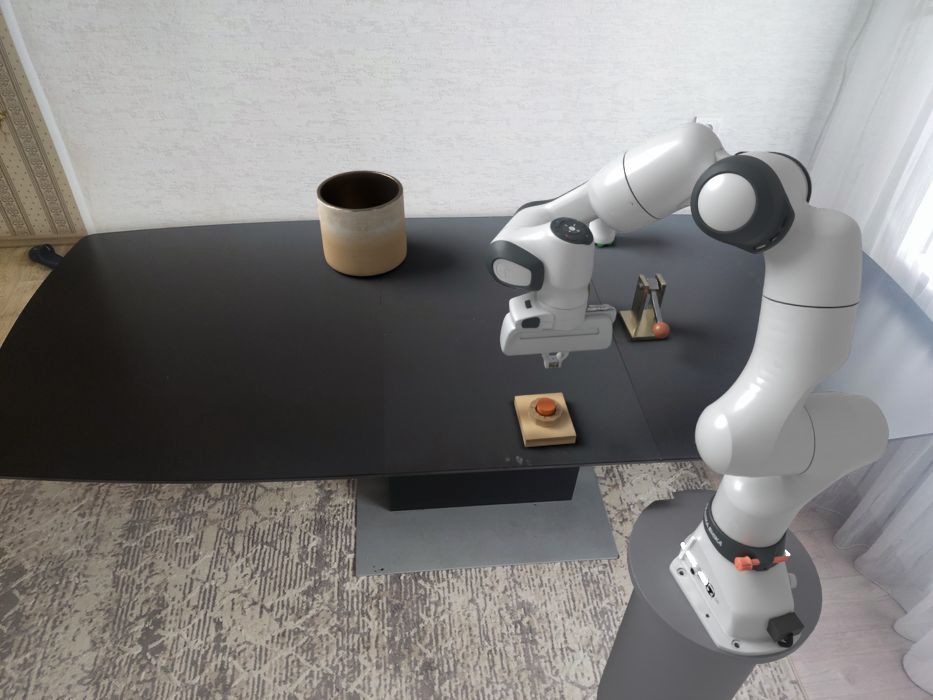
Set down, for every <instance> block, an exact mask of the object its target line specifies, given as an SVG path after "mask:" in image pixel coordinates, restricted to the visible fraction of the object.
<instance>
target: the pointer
mask: <svg viewBox="0 0 933 700" xmlns="http://www.w3.org/2000/svg"><path fill="white" fill-rule="evenodd" d="M646 280H647V282H648V284H649V290H648V294H647V295H649V298H650V297H651V301H652V306H653V310H654V315H655V319H656V324H655V325H654V327H653V333H654V335H655V336H656V337H658V338H664V339H665V338H667V337H668V336H669V334H670V331H671V329H670V326H669V324H667V323H666V322H664V321H663V317H662V312H661V308H659V304H658V299H657V295H656V292H657V290H658V289H659V287H658V283H657V279H656V278H655V277H649V278H646Z"/></svg>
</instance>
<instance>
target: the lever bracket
mask: <svg viewBox="0 0 933 700" xmlns="http://www.w3.org/2000/svg"><path fill="white" fill-rule="evenodd" d="M654 278H656V279H657V283H658V287H659V289H658V290H657V292H656V295H657V299H658V304H659V308H660V309H661V306H662V303H663V299H664V295H665V293H666V288H667V282H666V281H665V279H664V277H663V276H662V274H661V273H655V275H654ZM646 279H647V278H646V277H645V275H644V274H639V275H638V279H637V283H636V287H635V291H634V296H633V298H632V299H633V300H632V304H631V309H630V310H620V311H619V312H618V316H619V319H620V321H621V322H622V325H623V326H624V329H625V331H626V333H627V334H628V337H629V339H630V341H631V342H639V341H640V342H641V341H653V340H665V338H658V337H656V336H655V335H654V333H653V327H654V325H655V324H656V319H655V315H654V310H653V306H652V301H651V297H650V296H649V300H648V304H647V306H646V301H647V298H648V295H649V294H648V290H649V284H648V282H647V280H646ZM645 306H646V307H647V308H646V309H645Z"/></svg>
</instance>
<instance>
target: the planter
mask: <svg viewBox="0 0 933 700" xmlns="http://www.w3.org/2000/svg"><path fill="white" fill-rule="evenodd" d="M404 196H405V195H404V187H403V184H402V183H401V181H400V180H399V179H397V177H394V176H393V175H391V174H388V173H385V172H381V171H377V170H364V169H362V170H361V169H360V170H350V171H344V172H340V173H337V174H334V175H332V176H330V177H328V178H326V179H324V180H323V181H321V183H320V184H319V185H318V187H317V188H316V202H317V209H318V217H319V225H320V232H321V239H322V240H321V241H322V248H323V254H324V258H325V261H326V263H327V264H328V265H329V267H331V268H332V269H333V270H335V271H336V272H339V273H342V274H344V275H347V276H353V277H374V276H379V275H383V274H385V273H388V272H390V271H392V270H394V269H396V268H397V267H399V266H400V265H401V264H402V263H403V261H405V258H406V257H407V253H408V243H407V227H406V214H405V200H404V199H405V197H404Z"/></svg>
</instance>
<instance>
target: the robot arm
mask: <svg viewBox="0 0 933 700" xmlns="http://www.w3.org/2000/svg"><path fill="white" fill-rule="evenodd" d="M812 192H813V183H812V178H811V175H810V173H809V171H808V170H807V168H806V167H805V165H804V164H803V163H802V162H801V161H799V160H798V159H797V158H795V157H793V156H792V155H789V154H786V153H784V152H778V151H762V150H754V151H745V150H744V151H738V152H736V153H734V154H730V153H729V152H728V151H727V150H726V149H725V146H724V145H723V143H722V142H721V139H720V138H719V137H718V135H717V134H716V133H715V131H713V130H712V129H711V128H710V127H708V126H707V125H705V124H703V123H700V122H692V121H691V122H685V123H683V124H680V125H677V126H674V127H671V128H669V129H666V130H664V131H661V132H659V133H657V134H655V135H652V136H650V137H648V138H647V139H644V140H643V141H641V142H639V143H637V144H635V145H633V146H632V147H630V148H629V149H627V150H625V151H623V152H621V153H620V154H619V155H617V156H616V157H614V158H613V159H611V160H610V161H609V162H608V163H606V164H605V165H604V166H603V167H602V168H600V169H599V170H598V171H597V172H596V173H594V175H593V176H591V178H590V179H589V180H587V181H585V182H583V183H582V184H579V185H578V186H576V187H574V188H572V189H570V190H568V191H566V192H565V193H562V194H561V195H558V196H556V197H554V198H551V199H550V198H549V199H544V200H543V199H542V200H533V201H529V202H526V203H524V204H522V205H521V206H520V207H518V208H517V210H516V211H515V212H514V214H513V216H512V217H511V218H510V220H509V221H508V222H507V223H506V225H505V226H504V227H503V228H502V229H501V230H500V231H499V232H498V234H497V235H495V237H494V238H493V240H492V241H491V242H490V243H489V244H488V246H487V247H486V249H485V252H484V263H485V266H486V269H487V271H488V273H489V275H490V276H491V277H492V278H493V280H494V281H496V282H497V283H498V284H500V285H502V286H504V287H507V288H511V289H515V290H519V291H525V292H527V293H524V294H520V295H518V296H515V297H512V298H510V299H509V301H508V307H509V312H508V313H506V315H505V316H504V318H503V321H502V324H501V329H500V335H499V343H500V348H501V352H502V353H503V354H504V355H505V356H508V357H509V356H524V355H525V356H526V355H536V354H537V355H539V354H540V356H541V357H542V359H543V365H544V368H545V369H554V368H555V369H556V368H562V363H563V362H564V360H565V359H566V358H567V357H568V356H569V355H570V352H583V351H601V350H607V349H608V348H609V347H610V346H611V345H612V341H613V324H614V322H615V320H616V317H617V309H616V308H615V307H614V306H612V305H611V304H609V303H602V304H588V303H589V299H588V294H589V293H588V284H589V283H590V282H591V280H592V278H593V273H594V267H595V259H596V258H595V257H596V243H595V241H594V236H593V234H592V232H591V230H590V229H589V226H587V225H588V224H590V222H592V221H594V220H596V219H598V218H599V219H600V220H601V221H602V222H603V223H604V224H605V225H607V226H608V227H610V228H611V229H614V230H615V232H619V233H629V232H632V231H636V230H640V229H642V228H646V227H648V226H650V225H653V224H655V223H658V222H659V221H661V220H663V219H664V218H666V217H669V216H671V215H673V214H674V213H677V212H678V211H680V210H683V209H685V208H688V207H690V214H691V216H692V219H693V221H694V223H695V225H696V226H697V227H698V229H699V230H700V231H701V232H703V234H705V235H706V236H707V237H709V238H711V239H713V240H716V241H717V242H720V243H724V244H727V245H730V246H732V247H735V248H738V249H740V250H743V251H744V252H747V253H749V254H752V255H757V254H762V255H763V258H764V264H765V267H764V268H765V269H764V270H765V271H764V280H763V287H762V295H761V304H760V311H759V319H758V324H757V329H756V330H757V331H756V335H755V340H754V344H753V347H752V351H751V354H750V356H749V358H748V360H747V363H746V365H745V366H744V368H743V370H742V371H741V373H740V374H739V376H738V377H737V379H736V380H735V381H734V383H733V384H732V385H731V386H730V387H729V388H728V389H727V391H726V392H724V394H722V395H721V396H719V398H718V399H716V400H715V401H713V402H712V403H710V404H709V405H707V406H706V407H705V408H704V410H703V411H702V412H701V414H700V415H699V417H698V420H697V422H696V425H695V431H694V440H695V445H696V449H697V452H698V454H699V456H700V458H701V459H702V461H703V462H704V463H705V465H706V466H707V467H708V468H709V469H710V470H711V471H712V472H714V473H716V474H719V475H723V476H722V478H721V481H720V484H719V486H718V488H717V490H716V491H717V492H716V493H715V494H714V495H713V496H712V498H711V499H710V501H709V503H708V504H707V506H706V508H705V512H704V515H703V520H702V522H701V523H700V524H699V526H698V527H697V529H696V530H695V531H694V532H693V533H691V534H690V535H689V536H688V537H687V538H686V539H685V540H684V542H683V543H681V549H680V553H679V555H678V556H677V557H676V558H675V559H674V560H673V562H672V563H671V564H670V567H669V569H670V572H671V573H672V575H673V577H674V578H675V580H676V582H677V583H678V585H679V586H680V588H681V590H682V591H683V593H684V595H685V596H686V598H687V599H688V601H689V603H690V604H691V606H692V608H693V609H694V611H695V612H696V614H697V616H698V617H699V619H700V621H701V622H702V624H703V625H704V627H705V629H706V630H707V632H708V633H709V635H710V637H711V638H712V640H713V642H714V643H715V644H716V646H717V647H718V648H719V649H721V650H724V651H726V652H729V653H732V654H737V655H744V656H759V655H768V654H774V653H778V652H781V651H784V650H786V649H788V648H790V647H792V646H793V645H794V644H795V643H796V642H797V641H798V640H799V638H800V636H801V631H802V630H803V628H804V627H805V626H804V625H803V624H802V622H801V621H800V619H799V618H798V616H797V615H796V614H795V612H794V601H793V596H792V591H791V589H794V588H796V586H797V579H796V576H795V575H794V574H792V573H787V568H786V564H785V561H787V560H788V559H787V558H789V556H790V554H789V553H788V552H787V551H786V550H785V542H786V538H787V528H788V529H789V527H790V525H791V524H792V522H793V521H794V519H795V518H796V516H797V515H798V513H799V512H800V511H801V510H802V509H803V508H804V507H805V506H806V505H807V504H808V503H809V502H811V501H812V500H813V499H814V498H816V497H817V496H818V495H819V494H821V493H822V492H824V491H825V490H826V489H828V488H829V487H830V486H832V485H833V484H835V483H836V482H837V481H839V480H840V479H842V478H843V477H845V476H846V475H849V474H851V473H852V472H854V471H857V470H858V469H860V468H863V467H864V466H867V465H870V464H872V463H875V462H876V461H878V460H879V459H880V458H881V457H882V456H883V455H884V453H885V451H886V449H887V446H888V443H889V438H890V430H889V424H888V421H887V418H886V416H885V414H884V413H883V411H882V409H881V408H880V406H879V405H878V404H877V403H876V402H875V401H874V400H873V399H871V398H869V397H868V396H866V395H860V394H854V393H848V392H839V391H831V390H830V391H827V390H826V391H814V390H815V388H816V387H817V386H819V385H820V383H822V382H823V381H824V380H826V379H827V378H828V377H830V376H832V375H833V374H835V373H836V372H838V371H839V370H840V369H841V368H842V367H844V365H845V364H846V363H847V361H848V360H849V357H850V355H851V351H852V350H851V349H852V345H853V344H852V343H853V337H854V333H855V327H856V320H857V314H858V309H859V303H860V296H861V290H862V278H863V238H862V237H863V236H862V230H861V227H860V225H859V223H858V221H856V220H855V219H854V218H853V216H850V215H849V214H847V213H846V212H843V211H840V210H837V209H833V208H827V207H826V208H825V207H824V208H823V207H816V206H813V205H811V204H809V203H810V201H811V198H812ZM551 353H552V355H550V354H551ZM554 353H556V354H554ZM553 354H554V355H553ZM813 391H814V392H813ZM679 573H681V574H683V576H682V575H680V574H679ZM784 639H786V640H787V642H785V641H784ZM734 645H737V646H738V647H739V648H736V647H735V646H734Z"/></svg>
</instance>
